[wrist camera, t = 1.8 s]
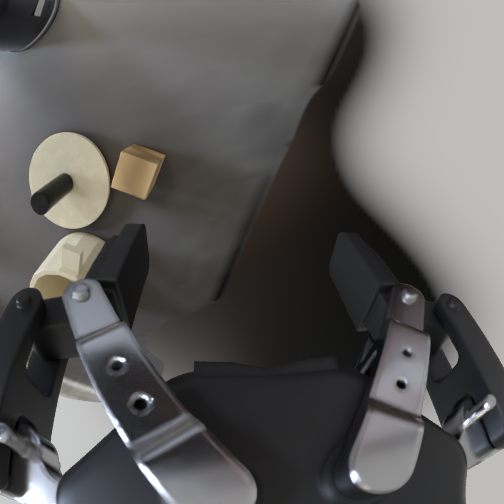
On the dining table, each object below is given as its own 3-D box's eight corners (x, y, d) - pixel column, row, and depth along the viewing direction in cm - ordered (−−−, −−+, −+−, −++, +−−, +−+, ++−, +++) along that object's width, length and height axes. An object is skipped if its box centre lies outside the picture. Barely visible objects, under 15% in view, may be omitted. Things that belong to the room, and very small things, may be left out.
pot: (55, 292, 36) (35, 329, 29) (60, 203, 28) (27, 236, 21) (115, 317, 40) (102, 358, 33) (136, 232, 32) (116, 274, 25)
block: (122, 175, 28) (110, 187, 24) (133, 143, 26) (121, 151, 23) (153, 186, 29) (145, 200, 26) (165, 155, 27) (157, 164, 24)
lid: (29, 207, 28) (1, 233, 22) (42, 120, 22) (6, 133, 16) (101, 237, 32) (80, 270, 26) (124, 147, 26) (99, 164, 20)
